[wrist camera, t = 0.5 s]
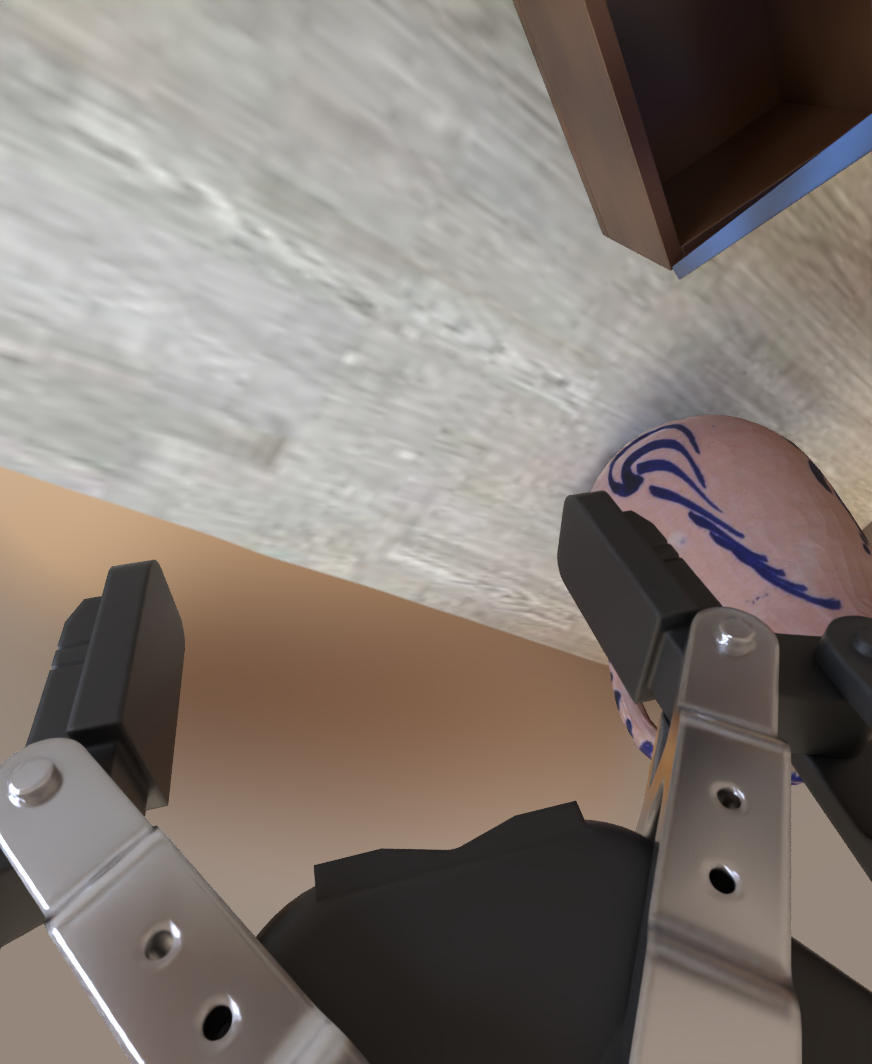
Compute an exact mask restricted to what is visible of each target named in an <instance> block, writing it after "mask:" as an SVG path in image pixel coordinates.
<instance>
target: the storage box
mask: <svg viewBox="0 0 872 1064" xmlns="http://www.w3.org/2000/svg"><path fill="white" fill-rule="evenodd" d="M513 3H514V5H515V8H516V11H517V13H518V16H519V18H520V21H521V23H522V26H523V29H524V31H525V34H526V36H527V39H528V42H529V44H530V47H531V49H532V52H533V54H534V57H535V60H536V62H537V65H538V67H539V70H540V73H541V75H542V78H543V80H544V83H545V86H546V88H547V91H548V93H549V96H550V98H551V101H552V104H553V106H554V109H555V111H556V114H557V117H558V119H559V122H560V124H561V127H562V129H563V132H564V135H565V137H566V140H567V142H568V145H569V148H570V150H571V153H572V155H573V158H574V161H575V163H576V166H577V168H578V171H579V173H580V176H581V179H582V181H583V184H584V186H585V189H586V192H587V194H588V197H589V199H590V202H591V204H592V207H593V210H594V212H595V215H596V217H597V220H598V223H599V225H600V228H601V230H602V233H603V235H604V236H606V237H608V238H610V239H612V240H614V241H616V242H618V243H619V244H621V245H623V246H625V247H627V248H629V249H631V250H633V251H635V252H637V253H638V254H640V255H642V256H644V257H646V258H648V259H650V260H652V261H654V262H655V263H657V264H659V265H661V266H663V267H665V268H667V269H669V270H673V268H672V267H673V266H674V265H675V264H676V263H678V262H679V261H680V260H682V259H683V258H684V257H686V256H687V255H688V254H690V253H691V252H692V251H693V250H695V249H696V248H697V247H699V246H700V245H701V244H703V243H704V242H705V241H706V240H708V239H709V238H710V237H712V236H713V235H714V234H716V233H717V232H718V231H719V230H721V229H722V228H723V227H725V226H726V225H727V224H729V223H730V222H731V221H732V220H734V219H735V218H736V217H738V216H739V215H740V214H742V213H743V212H744V211H745V210H747V209H748V208H749V207H751V206H752V205H753V204H755V203H756V202H757V201H758V200H760V199H761V198H762V197H764V196H765V195H766V194H768V193H769V192H770V191H771V190H773V189H774V188H775V187H777V186H778V185H779V184H781V183H782V182H783V181H784V180H786V179H787V178H788V177H790V176H791V175H792V174H794V173H795V172H796V171H797V170H799V169H800V168H801V167H803V166H804V165H805V164H807V163H808V162H809V161H810V160H812V159H813V158H814V157H816V156H817V155H818V154H820V153H821V152H822V151H823V150H825V149H826V148H827V147H829V146H830V145H831V144H833V143H834V142H835V141H836V140H838V139H839V138H840V137H842V136H843V135H844V134H846V133H847V132H848V131H850V130H851V129H852V128H853V127H855V126H856V125H857V124H859V123H860V122H861V121H863V120H864V119H865V118H866V117H868V116H869V115H870V114H872V0H513Z"/></svg>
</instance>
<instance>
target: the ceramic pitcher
mask: <svg viewBox="0 0 872 1064" xmlns="http://www.w3.org/2000/svg"><path fill="white" fill-rule="evenodd" d="M601 490H603V491H606V492H607V493H608V494H609V495H610V496H611V498H612V499H613V500H614V501H615V503H616V504H617V505H618V506H619V508H620V509H621V510H622V511H629V510H632V511H634V512H635V513H637V514H639V515H640V516H642V517H644V518H645V519H647V520H648V521H650V522H652V523H653V524H654V525H655V526H656V527H657V529H658V530H659V531H660V532H661V533H662V535H663V536H664V537H665V538H666V539H667V543H668V544H671V545H672V546H673V548H674V549H675V550H676V551H677V552H678V554H679V558H681V557H682V558H683V559H684V561H685V562H686V563H687V564H688V565H689V567H690V568H691V569H692V570H693V571H694V573H695V574H696V575H697V576H698V577H699V578H700V580H701V581H702V582H703V583H704V584H705V586H706V587H707V588H708V589H709V590H710V592H711V593H712V594H713V595H714V596H715V597H716V599H717V600H718V601H719V602H720V603H721V605H722V606H723V607H731V608H736V609H739V610H743V611H745V612H748V613H750V614H752V615H754V616H756V617H757V618H759V619H760V620H762V621H763V622H764V623H766V624H767V625H768V626H769V627H770V628H771V629H772V631H773V632H774V633H780V634H794V635H808V636H823V634H824V632H825V630H826V628H827V626H828V625H829V624H830V622H831V621H833V620H834V619H836V618H838V617H842V616H849V615H855V616H864V617H869V618H872V547H871V545H870V543H869V542H868V540H867V538H866V537H865V535H864V533H863V532H862V530H861V529H860V527H859V526H858V524H857V522H856V521H855V519H854V518H853V516H852V515H851V513H850V512H849V510H848V509H847V507H846V506H845V504H844V503H843V502H842V500H841V499H840V497H839V496H838V494H837V493H836V491H835V490H834V488H833V487H832V485H831V484H830V483H829V481H828V480H827V479H826V478H825V476H824V475H823V474H822V472H821V471H820V470H819V469H818V468H817V466H816V465H815V464H814V463H813V462H812V461H811V460H810V459H809V457H808V456H807V455H806V454H805V453H804V452H802V451H801V450H800V449H799V448H798V447H797V446H796V445H795V444H794V443H792V442H791V441H789V440H788V439H786V438H784V437H783V436H781V435H779V434H777V433H776V432H774V431H772V430H770V429H768V428H766V427H764V426H761V425H759V424H756V423H753V422H750V421H747V420H744V419H741V418H736V417H731V416H723V415H698V416H691V417H688V418H684V419H679V420H674V421H669V422H667V423H663V424H660V425H658V426H656V427H654V428H652V429H650V430H647V431H645V432H643V433H642V434H640V435H638V436H637V437H635V438H634V439H633V440H631V441H630V442H628V443H627V444H625V445H624V447H623V448H621V449H620V450H619V451H618V452H617V453H616V455H615V456H614V457H613V458H612V459H611V460H610V461H609V462H608V464H607V465H606V467H605V468H604V469H603V471H602V472H601V473H600V475H599V476H598V478H597V480H596V482H595V484H594V485H593V487H592V490H591V492H594V491H601ZM609 667H610V673H611V680H612V686H613V691H614V696H615V700H616V704H617V707H618V710H619V712H620V715H621V718H622V721H623V722H624V724H625V725H626V727H627V729H628V732H629V733H630V735H631V736H632V738H633V739H634V743H635V746H636V747H637V748H639V749H640V750H641V751H642V752H643V753H644V754H645V755H646V756H647V757H648V758H650V759H651V758H652V753H653V748H654V743H655V737H656V732H657V727H656V726H655V725H654V723H653V722H652V721H651V720H650V718H649V716H648V714H647V712H646V710H645V708H644V705H643V703H637V704H634V702H633V700H632V699H631V697H630V695H629V693H628V692H627V690H626V688H625V687H624V685H623V683H622V681H621V680H620V678H619V676H618V675H617V673H616V671H615V669H614V668H613V666H612V664H611V663H610V661H609ZM801 783H804V782H803V780H802V779H801V777H800V776H799V774H798V773H797V771H796V770H795V769H794V767H793V766H792V764H791V785H797V784H801Z"/></svg>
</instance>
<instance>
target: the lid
mask: <svg viewBox="0 0 872 1064" xmlns="http://www.w3.org/2000/svg"><path fill="white" fill-rule="evenodd" d="M871 151H872V114H870V115H869V116H868V117H866V118H865V119H864V120H863V121H861V122H860V123H859V124H857V125H856V126H855V127H853V128H852V129H851V130H850V131H848V132H847V133H846V134H844V135H843V136H842V137H840V138H839V139H838V140H836V141H835V142H834V143H833V144H831V145H830V146H829V147H827V148H826V149H825V150H823V151H822V152H821V153H820V154H818V155H817V156H816V157H814V158H813V159H812V160H810V161H809V162H808V163H807V164H805V165H804V166H803V167H801V168H800V169H799V170H797V171H796V172H795V173H794V174H792V175H791V176H790V177H788V178H787V179H786V180H784V181H783V182H782V183H781V184H779V185H778V186H777V187H775V188H774V189H773V190H771V191H770V192H769V193H768V194H766V195H765V196H764V197H762V198H761V199H760V200H758V201H757V202H756V203H755V204H753V205H752V206H751V207H749V208H748V209H747V210H745V211H744V212H743V213H742V214H740V215H739V216H738V217H736V218H735V219H734V220H732V221H731V222H730V223H729V224H727V225H726V226H725V227H723V228H722V229H721V230H719V231H718V232H717V233H716V234H714V235H713V236H712V237H710V238H709V239H708V240H706V241H705V242H704V243H703V244H701V245H700V246H699V247H697V248H696V249H695V250H693V251H692V252H691V253H690V254H688V255H687V256H686V257H684V258H683V259H682V260H680V261H679V262H678V263H676V264H675V265H674V266H673V267H672V268H673V270H674V272H675V273H676V275H677V277H678V278H679V279H682V278H683V277H685V276H686V275H688V274H689V273H691V272H692V271H694V270H695V269H697V268H698V267H700V266H701V265H703V264H704V263H706V262H707V261H709V260H710V259H712V258H713V257H715V256H716V255H718V254H719V253H721V252H722V251H723V250H725V249H726V248H728V247H729V246H731V245H732V244H734V243H735V242H737V241H738V240H740V239H741V238H743V237H744V236H746V235H747V234H749V233H750V232H752V231H753V230H755V229H756V228H758V227H759V226H761V225H762V224H764V223H765V222H767V221H768V220H770V219H771V218H773V217H774V216H776V215H777V214H779V213H780V212H782V211H783V210H785V209H786V208H787V207H789V206H790V205H792V204H793V203H795V202H796V201H798V200H799V199H801V198H802V197H804V196H805V195H807V194H808V193H810V192H811V191H813V190H814V189H816V188H817V187H819V186H820V185H822V184H823V183H825V182H826V181H828V180H829V179H831V178H832V177H834V176H835V175H837V174H838V173H840V172H841V171H843V170H844V169H846V168H847V167H848V166H850V165H851V164H853V163H854V162H856V161H857V160H859V159H860V158H862V157H863V156H865V155H866V154H868V153H869V152H871Z"/></svg>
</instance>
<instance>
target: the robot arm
mask: <svg viewBox="0 0 872 1064" xmlns="http://www.w3.org/2000/svg"><path fill="white" fill-rule="evenodd" d="M557 559H558V567H559V571H560V575H561V578H562V580H563V582H564V584H565V585H566V587H567V589H568V591H569V592H570V594H571V596H572V597H573V599H574V601H575V603H576V604H577V606H578V608H579V609H580V611H581V613H582V615H583V616H584V618H585V620H586V621H587V623H588V625H589V627H590V628H591V630H592V632H593V633H594V635H595V637H596V639H597V640H598V642H599V644H600V645H601V647H602V649H603V651H604V652H605V654H606V656H607V657H608V659H609V661H610V663H611V664H612V666H613V668H614V669H615V671H616V673H617V675H618V676H619V678H620V680H621V681H622V683H623V685H624V687H625V688H626V690H627V692H628V693H629V695H630V697H631V699H632V700H633V702H634V704H637V703H642V702H646V701H651V700H655V699H656V701H657V702H658V704H659V706H660V707H661V708H662V712H661V715H660V718H659V722H658V727H657V732H656V737H655V743H654V748H653V753H652V758H651V764H650V769H649V774H648V779H647V785H646V790H645V795H644V800H643V804H642V808H641V812H640V816H639V819H638V823H637V827H636V831H635V832H634V831H632V830H629V829H627V828H624V827H621V826H618V825H614V824H611V823H607V822H601V821H594V820H584V818H583V815H582V813H581V811H580V809H579V806H578V804H577V802H576V801H573V802H569V803H565V804H561V805H557V806H553V807H549V808H545V809H541V810H536V811H532V812H528V813H525V814H520V815H516V816H514V817H512V818H510V819H509V820H507V821H505V822H503V823H502V824H500V825H498V826H497V827H494V828H493V829H491V830H489V831H487V832H486V833H484V834H482V835H480V836H479V837H477V838H475V839H473V840H472V841H470V842H468V843H467V844H465V845H463V846H461V847H459V848H456V849H452V850H424V849H378V850H374V851H370V852H366V853H362V854H358V855H354V856H350V857H346V858H342V859H338V860H334V861H330V862H326V863H322V864H318V865H314V874H315V887H313V888H311V889H309V890H308V891H306V892H304V893H302V894H301V895H300V896H298V897H297V898H295V899H294V900H293V901H291V902H290V903H288V904H287V905H286V906H285V907H284V908H283V909H282V910H281V911H279V912H278V913H277V914H276V915H275V916H274V917H273V918H272V919H271V920H270V921H269V922H268V924H267V925H266V926H265V927H264V928H263V929H262V930H261V931H260V932H259V934H258V935H257V936H256V937H255V936H254V935H253V934H252V932H251V931H250V930H249V929H248V928H247V927H246V926H245V925H244V923H243V922H242V921H241V920H240V919H239V918H238V917H237V915H236V914H235V913H234V912H233V911H232V910H231V909H230V907H229V906H228V905H227V904H226V903H225V902H224V900H222V898H221V897H220V896H219V895H218V894H217V893H216V891H215V890H214V889H213V888H212V887H211V886H210V884H209V883H208V882H207V881H206V880H205V879H204V878H203V877H202V875H201V874H200V873H199V872H198V871H197V870H196V869H195V867H194V866H193V865H192V864H191V863H190V862H189V861H188V859H187V858H186V857H185V856H184V855H183V854H182V853H181V851H180V850H179V849H178V848H177V847H176V846H175V845H174V844H173V842H172V841H171V840H170V839H169V838H168V837H167V836H166V834H165V833H164V832H163V831H162V830H161V829H160V828H159V827H157V826H152V825H151V824H150V822H149V821H148V820H147V819H146V818H145V812H146V810H150V809H155V808H159V807H164V806H168V801H169V791H170V782H171V773H172V764H173V753H174V745H175V736H176V726H177V717H178V707H179V698H180V688H181V679H182V670H183V661H184V651H185V639H184V630H183V625H182V621H181V618H180V615H179V612H178V610H177V607H176V605H175V602H174V600H173V597H172V595H171V592H170V590H169V587H168V584H167V582H166V579H165V577H164V575H163V572H162V569H161V567H160V565H159V563H158V562H157V561H156V560H150V561H144V562H137V563H131V564H124V565H118V566H112V567H111V568H110V570H109V572H108V576H107V579H106V583H105V587H104V590H103V594H102V596H101V597H94V598H89V599H84V600H83V601H82V602H81V604H80V605H79V606H78V607H77V608H76V610H75V611H74V612H73V613H72V614H71V616H70V617H69V618H68V619H67V621H66V622H65V624H64V627H63V631H62V634H61V637H60V640H59V643H58V650H56V652H55V656H54V659H53V662H52V670H50V672H49V675H48V678H47V681H46V684H45V687H44V690H43V693H42V697H41V700H40V703H39V706H38V709H37V712H36V715H35V719H34V722H33V725H32V728H31V731H30V734H29V737H28V740H27V743H26V746H25V747H24V748H23V749H21V750H19V751H18V752H16V753H14V754H13V755H12V756H10V757H9V758H8V759H6V760H5V761H4V762H3V763H2V764H1V765H0V948H1V947H2V946H4V945H6V944H8V943H10V942H11V941H13V940H15V939H17V938H18V937H20V936H22V935H24V934H26V933H27V932H29V931H31V930H33V929H34V928H36V927H38V926H40V925H42V924H43V923H44V925H45V928H46V929H47V932H48V933H49V935H50V937H51V938H52V940H53V941H54V943H55V945H56V946H57V948H58V949H59V951H60V953H61V954H62V955H63V957H64V959H65V960H66V962H67V963H68V965H69V967H70V968H71V970H72V971H73V973H74V974H75V976H76V978H77V979H78V980H79V982H80V984H81V985H82V987H83V988H84V990H85V991H86V993H87V995H88V996H89V998H90V999H91V1001H92V1002H93V1004H94V1006H95V1007H96V1009H97V1010H98V1012H99V1013H100V1015H101V1017H102V1018H103V1019H104V1021H105V1023H106V1024H107V1026H108V1027H109V1029H110V1030H111V1032H112V1034H113V1035H114V1037H115V1038H116V1040H117V1041H118V1043H119V1045H120V1046H121V1048H122V1049H123V1051H124V1052H125V1054H126V1055H127V1057H128V1059H129V1060H130V1062H131V1063H132V1064H872V992H871V991H870V990H868V989H867V988H865V987H864V986H862V985H861V984H859V983H858V982H856V981H855V980H854V979H852V978H851V977H849V976H848V975H846V974H845V973H844V972H842V971H841V970H839V969H838V968H837V967H835V966H834V965H832V964H831V963H829V962H828V961H826V960H825V959H824V958H822V957H821V956H819V955H818V954H816V953H815V952H813V951H812V950H811V949H809V948H808V947H806V946H805V945H803V944H802V943H801V942H799V941H798V940H796V939H795V938H793V937H792V936H791V764H792V766H793V767H794V769H795V770H796V771H797V773H798V774H799V776H800V777H801V779H802V780H803V782H804V783H805V785H806V786H807V788H808V789H809V791H810V792H811V793H812V795H813V796H814V798H815V799H816V801H817V802H818V804H819V805H820V807H821V808H822V810H823V811H824V813H825V814H826V815H827V817H828V818H829V820H830V821H831V823H832V824H833V826H834V827H835V829H836V830H837V832H838V833H839V835H840V836H841V837H842V839H843V840H844V842H845V843H846V844H847V846H848V848H849V849H850V851H851V852H852V853H853V855H854V856H855V858H856V859H857V861H858V862H859V864H860V865H861V867H862V868H863V869H864V871H865V872H866V874H867V876H868V877H869V879H870V880H871V881H872V618H869V617H864V616H855V615H849V616H842V617H838V618H836V619H834V620H833V621H831V622H830V624H829V625H828V626H827V628H826V630H825V632H824V634H823V636H808V635H794V634H780V633H774V632H773V631H772V629H771V628H770V627H769V626H768V625H767V624H766V623H764V622H763V621H762V620H760V619H759V618H757V617H756V616H754V615H752V614H750V613H748V612H745V611H743V610H739V609H736V608H731V607H723V606H722V605H721V603H720V602H719V601H718V600H717V599H716V597H715V596H714V595H713V594H712V593H711V592H710V590H709V589H708V588H707V587H706V586H705V584H704V583H703V582H702V581H701V580H700V578H699V577H698V576H697V575H696V574H695V573H694V571H693V570H692V569H691V568H690V567H689V565H688V564H687V563H686V562H685V561H684V559H683V558H682V557H681V558H679V554H678V552H677V551H676V550H675V549H674V548H673V546H672V545H671V544H668V543H667V539H666V538H665V537H664V536H663V535H662V533H661V532H660V531H659V530H658V529H657V527H656V526H655V525H654V524H653V523H652V522H650V521H648V520H647V519H645V518H644V517H642V516H640V515H639V514H637V513H635V512H634V511H632V510H629V511H622V510H621V509H620V508H619V506H618V505H617V504H616V503H615V501H614V500H613V499H612V498H611V496H610V495H609V494H608V493H607V492H606V491H603V490H601V491H594V492H588V493H582V494H575V495H569V496H567V498H566V499H565V502H564V507H563V515H562V522H561V530H560V537H559V545H558V553H557Z"/></svg>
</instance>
